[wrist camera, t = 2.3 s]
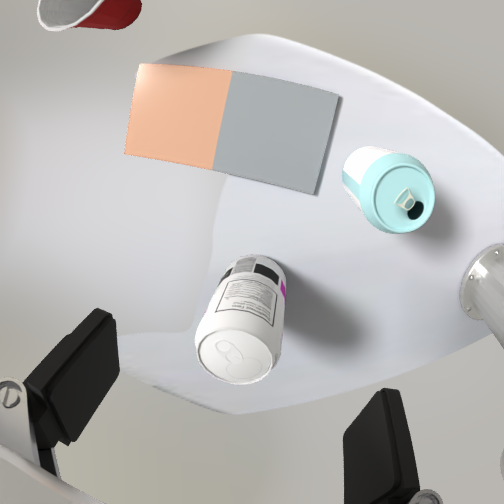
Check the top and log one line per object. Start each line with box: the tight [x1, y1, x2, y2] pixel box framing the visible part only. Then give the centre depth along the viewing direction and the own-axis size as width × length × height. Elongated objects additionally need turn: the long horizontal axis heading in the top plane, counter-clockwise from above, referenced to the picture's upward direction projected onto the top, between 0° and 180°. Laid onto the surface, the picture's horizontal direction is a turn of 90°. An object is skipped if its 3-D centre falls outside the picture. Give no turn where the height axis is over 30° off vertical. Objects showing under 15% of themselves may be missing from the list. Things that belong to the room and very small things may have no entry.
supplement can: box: [195, 254, 286, 385], centre depth 33 cm, size 8×8×15 cm
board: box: [124, 64, 339, 194], centre depth 32 cm, size 24×12×1 cm, turn 78°
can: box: [342, 146, 435, 234], centre depth 27 cm, size 7×7×12 cm
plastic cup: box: [37, 0, 142, 31], centre depth 22 cm, size 11×11×12 cm
